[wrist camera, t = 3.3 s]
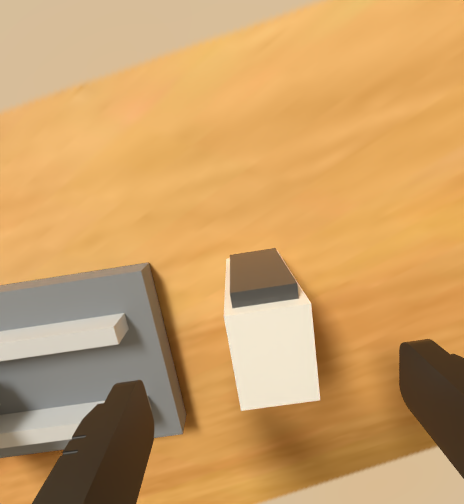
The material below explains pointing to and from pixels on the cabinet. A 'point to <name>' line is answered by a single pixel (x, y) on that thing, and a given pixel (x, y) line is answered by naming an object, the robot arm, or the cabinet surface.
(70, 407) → the rail mount
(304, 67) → the cabinet surface
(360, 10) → the cabinet surface
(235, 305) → the cream block
